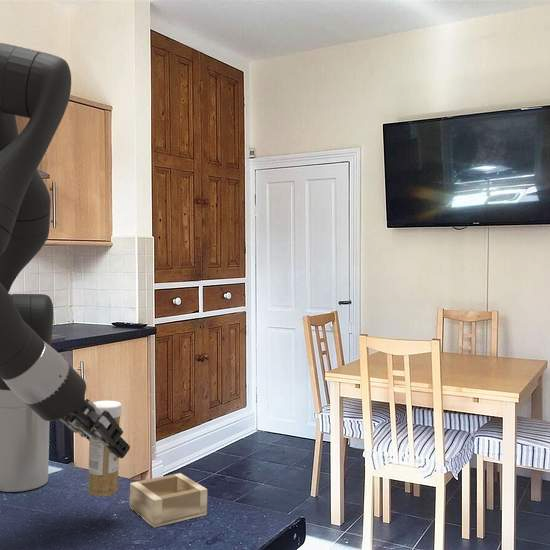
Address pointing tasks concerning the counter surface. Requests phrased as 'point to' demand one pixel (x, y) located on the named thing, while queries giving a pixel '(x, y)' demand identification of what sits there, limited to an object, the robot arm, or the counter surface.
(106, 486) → the sprinkles bottle
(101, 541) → the counter surface
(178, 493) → the socket block
